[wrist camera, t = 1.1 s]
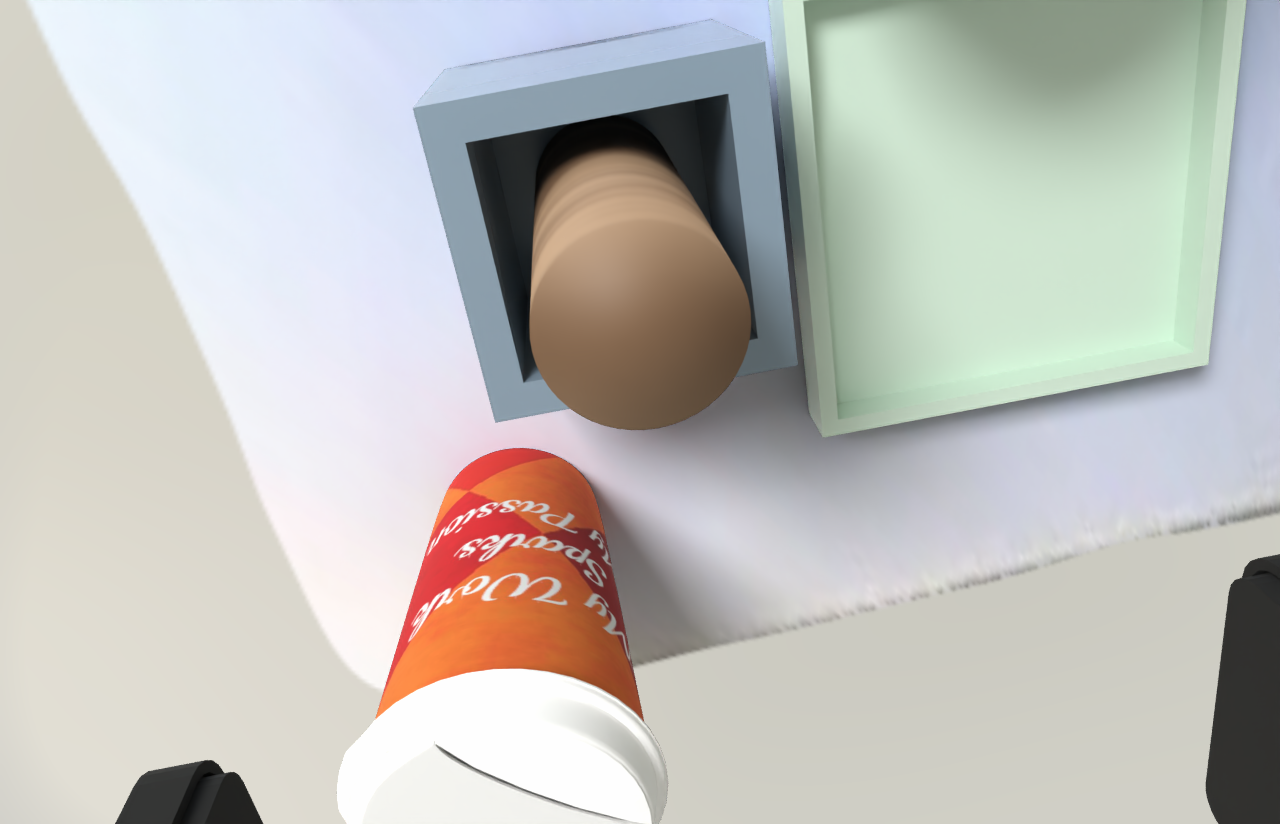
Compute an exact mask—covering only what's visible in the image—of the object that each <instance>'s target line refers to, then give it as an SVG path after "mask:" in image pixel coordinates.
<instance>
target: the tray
mask: <svg viewBox="0 0 1280 824" xmlns="http://www.w3.org/2000/svg"><path fill="white" fill-rule="evenodd" d="M768 2H769V12H770V22H771V32H772V42H773V53H774V63H775V73H776V83H777V93H778V103H779V113H780V124H781V134H782V144H783V154H784V164H785V174H786V184H787V194H788V205H789V215H790V225H791V235H792V245H793V255H794V265H795V276H796V286H797V296H798V306H799V316H800V326H801V336H802V346H803V357H804V367H805V377H806V387H807V397H808V407H809V414H810V416H811V418H812V419H813V421H814V423H815V425H816V426H817V428H818V430H819V432H820V434H821V435H822V437H823V438H825V437H830V436H835V435H840V434H846V433H851V432H856V431H861V430H867V429H872V428H877V427H882V426H888V425H893V424H898V423H903V422H909V421H914V420H919V419H925V418H930V417H935V416H940V415H946V414H951V413H956V412H961V411H967V410H972V409H977V408H982V407H988V406H993V405H998V404H1003V403H1009V402H1014V401H1019V400H1024V399H1030V398H1035V397H1040V396H1045V395H1051V394H1056V393H1061V392H1066V391H1072V390H1077V389H1082V388H1088V387H1093V386H1098V385H1103V384H1109V383H1114V382H1119V381H1124V380H1130V379H1135V378H1140V377H1145V376H1151V375H1156V374H1161V373H1166V372H1172V371H1177V370H1182V369H1187V368H1193V367H1198V366H1203V365H1208V361H1209V352H1210V342H1211V333H1212V323H1213V314H1214V304H1215V295H1216V285H1217V276H1218V266H1219V257H1220V247H1221V238H1222V228H1223V219H1224V209H1225V200H1226V190H1227V181H1228V171H1229V162H1230V152H1231V143H1232V133H1233V124H1234V114H1235V105H1236V95H1237V86H1238V76H1239V67H1240V57H1241V48H1242V38H1243V29H1244V19H1245V10H1246V0H768Z"/></svg>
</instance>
